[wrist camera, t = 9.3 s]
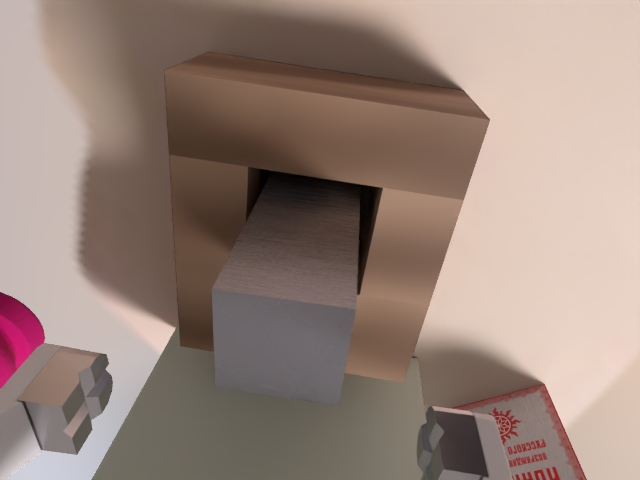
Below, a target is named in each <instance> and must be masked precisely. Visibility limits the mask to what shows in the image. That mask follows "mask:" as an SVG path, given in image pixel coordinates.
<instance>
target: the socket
mask: <svg viewBox="0 0 640 480" xmlns="http://www.w3.org/2000/svg"><path fill="white" fill-rule="evenodd" d="M164 75H165V92H166V109H167V126H168V144H169V161H170V178H171V196H172V213H173V230H174V248H175V265H176V282H177V300H178V317H179V334H180V346H181V347H187V348H193V349H200V350H206V351H212V352H214V338H213V310H212V288H213V286H214V284H215V282H216V280H217V278H218V276H219V274H220V272H221V270H222V268H223V266H224V264H225V262H226V260H227V258H228V256H229V255H230V253H231V251H232V249H233V247H234V245H235V243H236V241H237V239H238V237H239V235H240V233H241V231H242V229H243V227H244V225H245V223H246V221H247V219H248V217H249V215H250V214H251V212H252V210H253V208H254V206H255V204H256V202H257V200H258V198H259V196H260V194H261V192H262V190H263V188H264V186H265V184H266V182H267V180H268V178H269V170H271V171H278V172H284V173H291V174H297V175H304V176H310V177H317V178H323V179H330V180H336V181H343V182H349V183H356V184H362V185H368V186H372V190H371V195H370V199H369V204H368V209H367V214H366V219H365V224H364V229H363V234H362V239H361V241H360V240H359V247H358V275H357V304H356V314H355V319H354V324H353V330H352V335H351V341H350V346H349V352H348V357H347V362H346V368H345V373H347V374H353V375H360V376H366V377H372V378H378V379H384V380H390V381H397V382H403V383H404V380H405V377H406V374H407V371H408V367H409V364H410V361H411V358H412V355H413V352H414V349H415V346H416V343H417V340H418V337H419V334H420V331H421V328H422V325H423V322H424V319H425V316H426V313H427V310H428V307H429V304H430V301H431V298H432V295H433V292H434V289H435V285H436V282H437V279H438V276H439V273H440V270H441V267H442V264H443V261H444V258H445V255H446V252H447V249H448V246H449V243H450V240H451V237H452V234H453V231H454V228H455V225H456V222H457V219H458V216H459V213H460V210H461V206H462V203H463V200H464V197H465V194H466V191H467V188H468V185H469V182H470V179H471V176H472V173H473V170H474V167H475V164H476V161H477V158H478V155H479V152H480V149H481V146H482V143H483V140H484V137H485V134H486V131H487V128H488V124H489V121H490V119H489V118H488V117H487V116H486V115H485V114H484V112H483V111H482V110H481V109H480V108H479V107H478V106H477V105H476V104H475V102H474V101H473V100H472V99H471V98H470V97H469V96H468V95H467V94H466V92H465V91H464V90H457V89H450V88H444V87H437V86H430V85H424V84H417V83H410V82H404V81H397V80H390V79H384V78H377V77H370V76H364V75H357V74H350V73H344V72H337V71H330V70H324V69H317V68H310V67H304V66H297V65H291V64H284V63H277V62H271V61H264V60H257V59H251V58H244V57H237V56H231V55H224V54H217V53H211V52H206V53H204V54H202V55H199V56H197V57H195V58H192V59H190V60H188V61H185V62H183V63H181V64H178V65H176V66H173V67H171V68H169V69H166V70H164Z"/></svg>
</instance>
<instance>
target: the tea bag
mask: <svg viewBox="0 0 640 480" xmlns="http://www.w3.org/2000/svg"><path fill="white" fill-rule="evenodd" d="M453 409H457V410H464V411H470V412H474V413H480V414H487V415H492V416H493V417H494V418H495V420H496V423H497V426H498V430H499V433H500V437H501V440H502V444H503V447H504V451H505V454H506V458H507V461H508V465H509V468H510V472H511V475H512V478H513V480H587V479H586V477H585V475H584V472H583V470H582V468H581V466H580V464H579V461H578V459H577V457H576V454H575V452H574V450H573V448H572V445H571V443H570V441H569V438H568V436H567V434H566V432H565V429H564V427H563V425H562V423H561V420H560V418H559V416H558V414H557V411H556V409H555V407H554V404H553V402H552V400H551V398H550V395H549V393H548V391H547V389H546V386H545V384H543V385H539V386H535V387H532V388H528V389H524V390H520V391H517V392H513V393H509V394H505V395H502V396H498V397H494V398H490V399H487V400H483V401H479V402H475V403H472V404H468V405H464V406H460V407H457V408H453Z"/></svg>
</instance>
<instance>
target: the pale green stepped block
mask: <svg viewBox="0 0 640 480" xmlns="http://www.w3.org/2000/svg"><path fill="white" fill-rule="evenodd" d="M425 423H427V422H426V415H425V407H424V400H423V392H422V385H421V377H420V370H419V362H418V359H417V358H411V361H410V364H409V367H408V371H407V374H406V377H405V380H404V383H403V382H397V381H390V380H384V379H378V378H372V377H366V376H360V375H353V374H347V373H344V379H343V384H342V389H341V395H340V400H339V406H336V405H329V404H322V403H315V402H309V401H302V400H295V399H288V398H281V397H275V396H268V395H261V394H254V393H247V392H240V391H234V390H227V389H220V388H215V365H214V352H212V351H206V350H200V349H193V348H187V347H181V346H180V334H179V324H178V326H177V327H176V329H175V331H174V333H173V335H172V336H171V338H170V340H169V342H168V344H167V345H166V347H165V349H164V351H163V353H162V354H161V356H160V358H159V360H158V362H157V363H156V365H155V367H154V369H153V371H152V372H151V374H150V376H149V378H148V380H147V381H146V383H145V385H144V387H143V388H142V390H141V392H140V394H139V396H138V397H137V399H136V401H135V403H134V405H133V406H132V408H131V410H130V412H129V414H128V416H127V417H126V419H125V421H124V423H123V424H122V426H121V428H120V430H119V432H118V433H117V435H116V437H115V439H114V441H113V442H112V444H111V446H110V448H109V449H108V451H107V453H106V455H105V457H104V459H103V460H102V462H101V464H100V466H99V468H98V469H97V471H96V473H95V475H94V476H93V478H92V480H421V478H422V475H423V472H422V470H421V469H420V467H419V466H418V465H417V439H418V433H419V430H420V428H421V425H423V424H425Z"/></svg>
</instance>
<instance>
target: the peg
mask: <svg viewBox="0 0 640 480" xmlns="http://www.w3.org/2000/svg"><path fill="white" fill-rule="evenodd" d="M360 190H361V184H356V183H349V182H343V181H336V180H330V179H323V178H317V177H310V176H304V175H297V174H291V173H284V172H278V171H272V173H271V174H270V176H269V178H268V180H267V182H266V184H265V186H264V188H263V190H262V192H261V194H260V196H259V198H258V200H257V202H256V204H255V206H254V208H253V210H252V212H251V214H250V215H249V217H248V219H247V221H246V223H245V225H244V227H243V229H242V231H241V233H240V235H239V237H238V239H237V241H236V243H235V245H234V247H233V249H232V251H231V253H230V255H229V256H228V258H227V260H226V262H225V264H224V266H223V268H222V270H221V272H220V274H219V276H218V278H217V280H216V282H215V284H214V286H213V288H212V310H213V338H214V365H215V388H220V389H227V390H234V391H240V392H247V393H254V394H261V395H268V396H275V397H281V398H288V399H295V400H302V401H309V402H315V403H322V404H329V405H336V406H339V400H340V395H341V389H342V384H343V379H344V373H345V368H346V362H347V357H348V352H349V346H350V341H351V335H352V330H353V324H354V319H355V314H356V304H357V275H358V247H359V219H360Z"/></svg>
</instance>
